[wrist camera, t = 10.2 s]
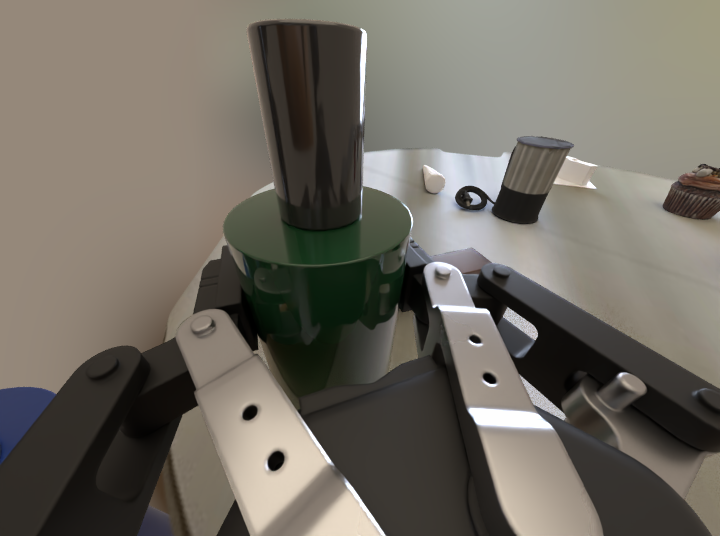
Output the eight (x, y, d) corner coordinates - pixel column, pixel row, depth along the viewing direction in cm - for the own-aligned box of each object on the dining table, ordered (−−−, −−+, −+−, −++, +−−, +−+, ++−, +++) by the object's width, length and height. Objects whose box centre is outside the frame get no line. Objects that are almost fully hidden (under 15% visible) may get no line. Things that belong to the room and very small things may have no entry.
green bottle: (289, 464, 11) (74, -31, 2) (277, 358, 15) (181, 34, 6) (402, 419, 12) (515, 20, 4) (364, 334, 16) (378, 47, 8)
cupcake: (665, 215, 57) (702, 169, 51) (651, 200, 64) (682, 158, 58) (726, 225, 54) (773, 177, 48) (704, 208, 60) (743, 164, 54)
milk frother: (548, 223, 53) (588, 145, 44) (478, 228, 50) (506, 147, 42) (505, 197, 64) (530, 131, 55) (447, 200, 62) (463, 132, 53)
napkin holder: (597, 189, 70) (610, 167, 66) (550, 183, 73) (560, 162, 70) (581, 173, 81) (591, 154, 78) (541, 169, 84) (549, 150, 81)
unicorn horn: (435, 167, 83) (438, 152, 80) (443, 195, 65) (447, 175, 62) (420, 166, 84) (423, 151, 81) (424, 193, 65) (427, 174, 62)
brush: (370, 317, 31) (371, 295, 29) (357, 292, 35) (357, 270, 33) (486, 286, 36) (496, 265, 34) (465, 267, 40) (472, 247, 38)
